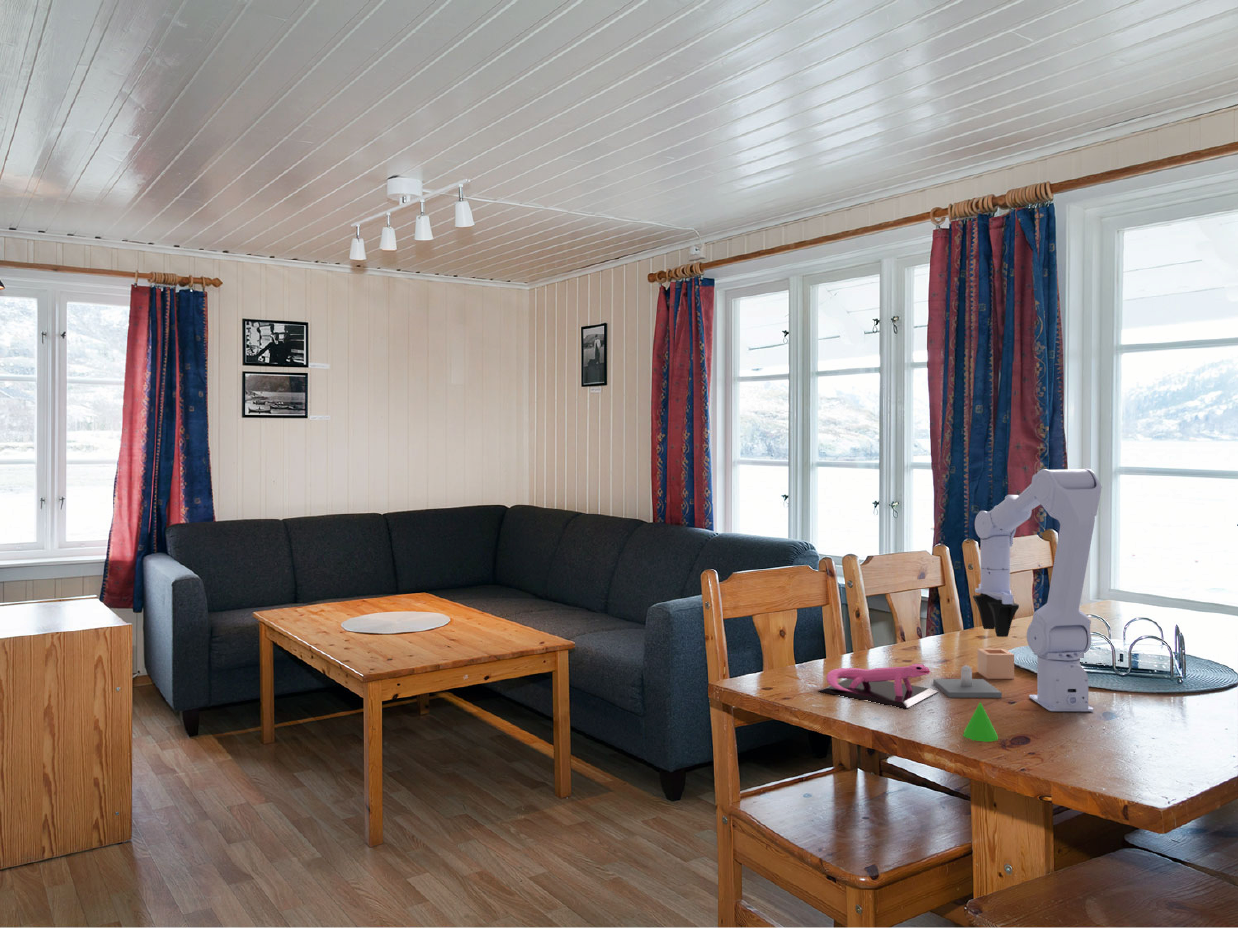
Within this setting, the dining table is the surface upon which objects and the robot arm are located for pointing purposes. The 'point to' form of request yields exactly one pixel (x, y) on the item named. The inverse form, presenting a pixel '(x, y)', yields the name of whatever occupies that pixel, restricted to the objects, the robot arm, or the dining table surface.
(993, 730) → the green cone
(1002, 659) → the collar
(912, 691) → the lizard figurine
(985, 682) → the post plate
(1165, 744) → the dining table surface
